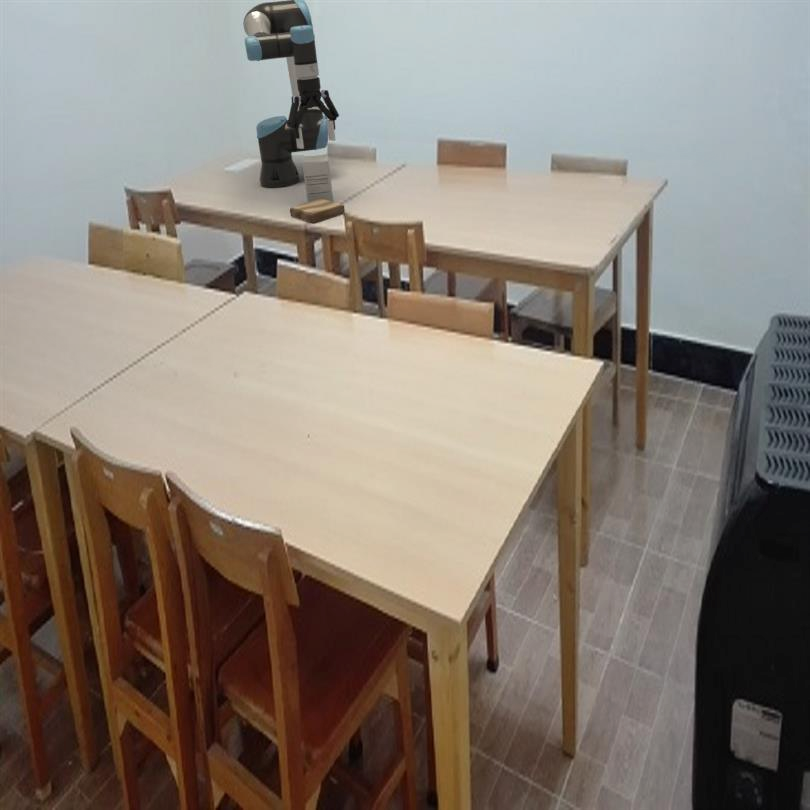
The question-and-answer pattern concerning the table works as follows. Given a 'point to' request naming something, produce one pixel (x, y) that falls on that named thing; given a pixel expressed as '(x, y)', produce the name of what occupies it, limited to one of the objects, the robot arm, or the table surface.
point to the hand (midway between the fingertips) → (316, 144)
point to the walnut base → (317, 210)
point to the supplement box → (317, 177)
